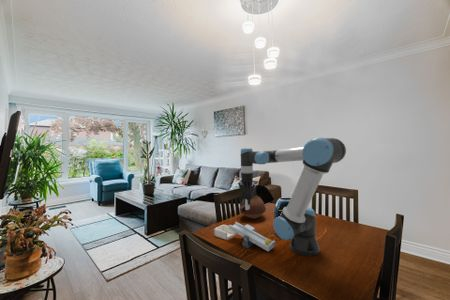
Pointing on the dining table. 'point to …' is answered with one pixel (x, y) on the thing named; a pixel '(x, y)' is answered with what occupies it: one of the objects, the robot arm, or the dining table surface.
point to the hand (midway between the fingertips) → (247, 209)
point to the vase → (253, 206)
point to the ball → (267, 241)
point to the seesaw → (251, 235)
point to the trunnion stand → (247, 242)
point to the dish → (224, 232)
